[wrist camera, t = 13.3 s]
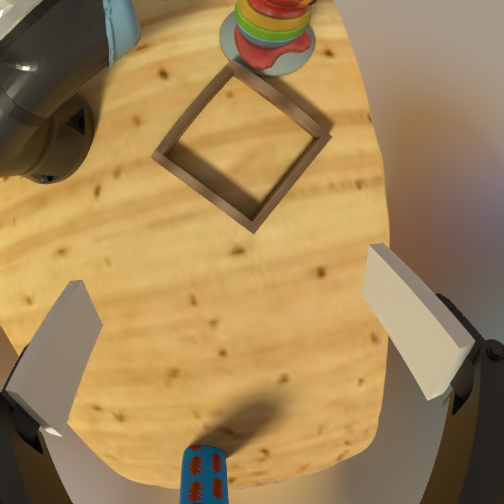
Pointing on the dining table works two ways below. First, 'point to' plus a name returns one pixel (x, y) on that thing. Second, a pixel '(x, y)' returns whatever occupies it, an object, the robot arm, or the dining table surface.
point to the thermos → (203, 476)
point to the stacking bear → (271, 30)
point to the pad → (282, 64)
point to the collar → (275, 99)
